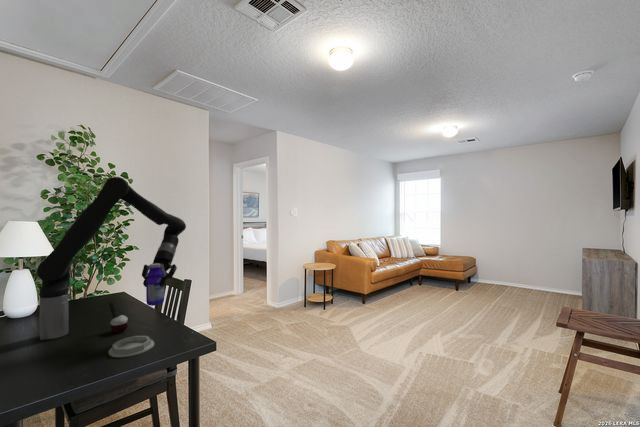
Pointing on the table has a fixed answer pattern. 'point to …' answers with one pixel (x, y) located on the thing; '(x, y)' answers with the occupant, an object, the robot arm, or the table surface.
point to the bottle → (154, 286)
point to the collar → (131, 346)
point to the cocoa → (118, 321)
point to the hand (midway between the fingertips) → (153, 285)
